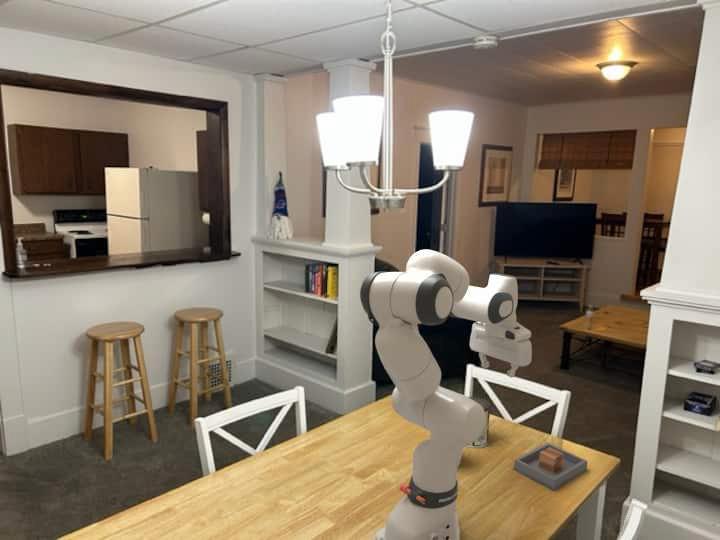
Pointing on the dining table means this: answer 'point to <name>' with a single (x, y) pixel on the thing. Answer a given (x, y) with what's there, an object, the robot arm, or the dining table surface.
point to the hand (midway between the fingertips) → (497, 371)
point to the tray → (531, 469)
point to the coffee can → (483, 439)
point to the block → (551, 460)
